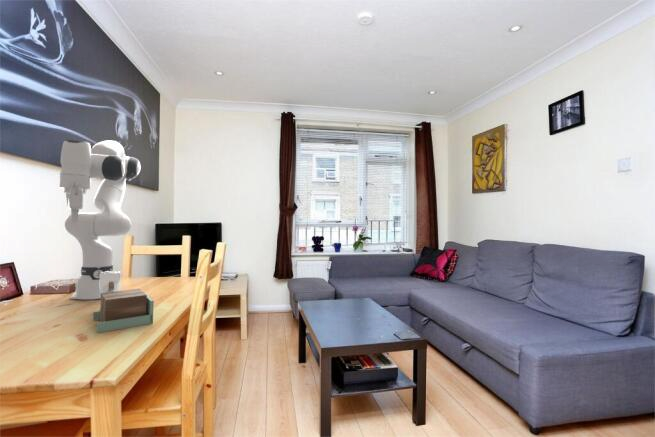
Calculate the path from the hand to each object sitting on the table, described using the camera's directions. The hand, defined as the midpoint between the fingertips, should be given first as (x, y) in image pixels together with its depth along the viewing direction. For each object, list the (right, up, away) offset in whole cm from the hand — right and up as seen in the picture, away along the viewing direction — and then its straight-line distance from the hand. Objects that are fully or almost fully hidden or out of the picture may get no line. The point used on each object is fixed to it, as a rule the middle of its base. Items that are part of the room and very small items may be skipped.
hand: (74, 222), depth 112 cm
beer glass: (+4, -36, +12) cm, 38 cm away
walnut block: (+19, -36, -2) cm, 40 cm away
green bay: (+19, -36, -2) cm, 40 cm away
